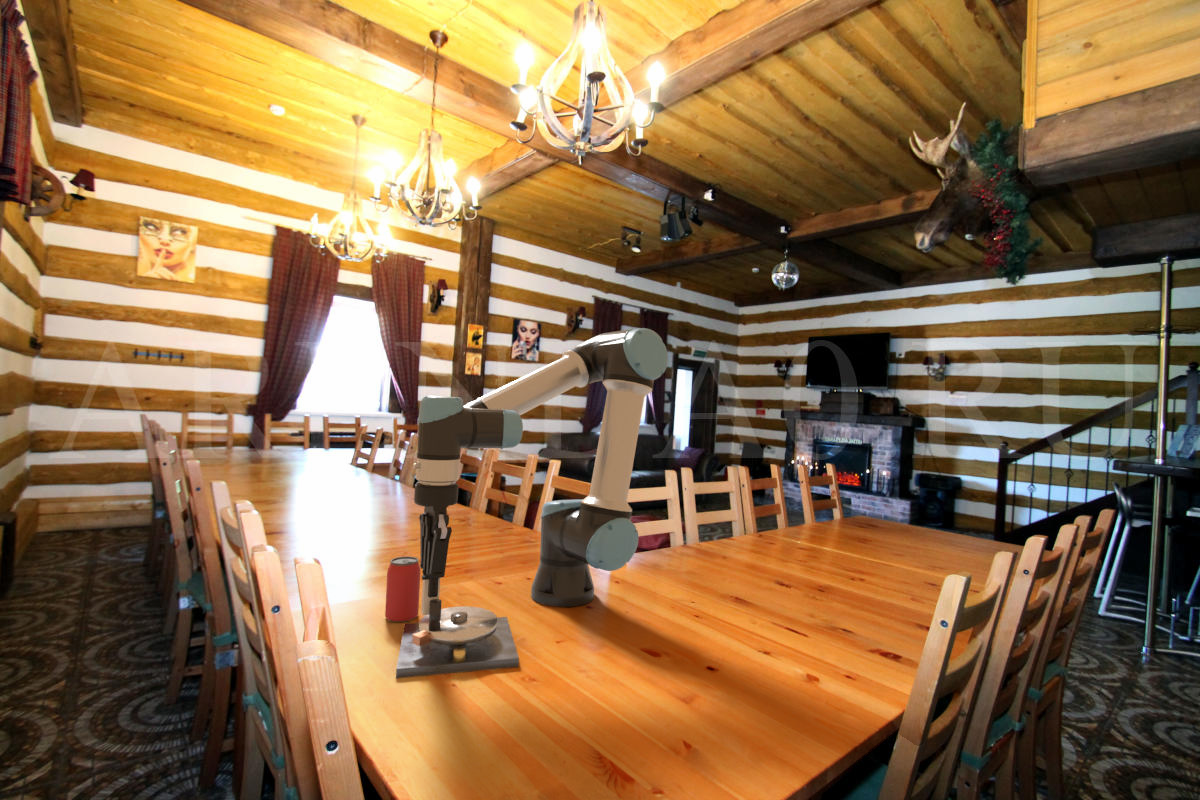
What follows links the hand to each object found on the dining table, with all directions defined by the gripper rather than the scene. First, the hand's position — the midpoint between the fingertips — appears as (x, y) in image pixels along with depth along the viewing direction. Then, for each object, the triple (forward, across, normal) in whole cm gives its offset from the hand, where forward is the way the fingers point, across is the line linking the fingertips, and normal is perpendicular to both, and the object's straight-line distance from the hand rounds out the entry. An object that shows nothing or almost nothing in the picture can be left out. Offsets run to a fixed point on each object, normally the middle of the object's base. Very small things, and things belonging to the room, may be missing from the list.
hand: (429, 612), depth 97 cm
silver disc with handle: (+4, 0, +5) cm, 6 cm away
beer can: (+8, -20, 0) cm, 21 cm away
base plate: (+8, 0, +6) cm, 9 cm away
